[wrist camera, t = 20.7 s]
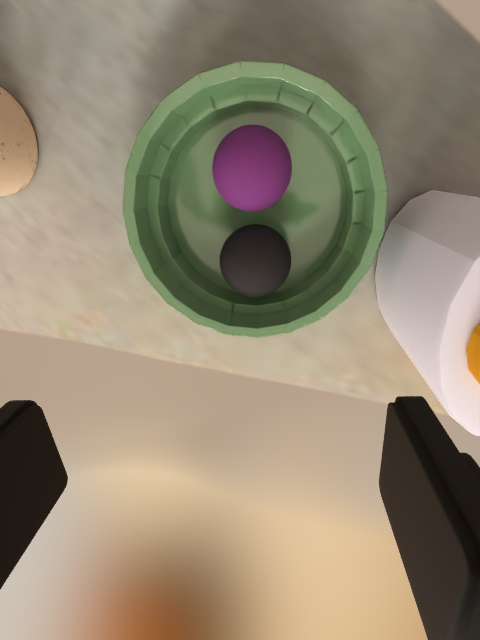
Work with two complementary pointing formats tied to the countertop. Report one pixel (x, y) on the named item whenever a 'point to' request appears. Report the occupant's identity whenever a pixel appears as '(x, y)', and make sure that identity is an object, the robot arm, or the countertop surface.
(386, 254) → the soap bottle
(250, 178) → the purple ball
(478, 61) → the countertop surface
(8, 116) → the teacup with lid
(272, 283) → the charcoal ball
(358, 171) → the green bowl
